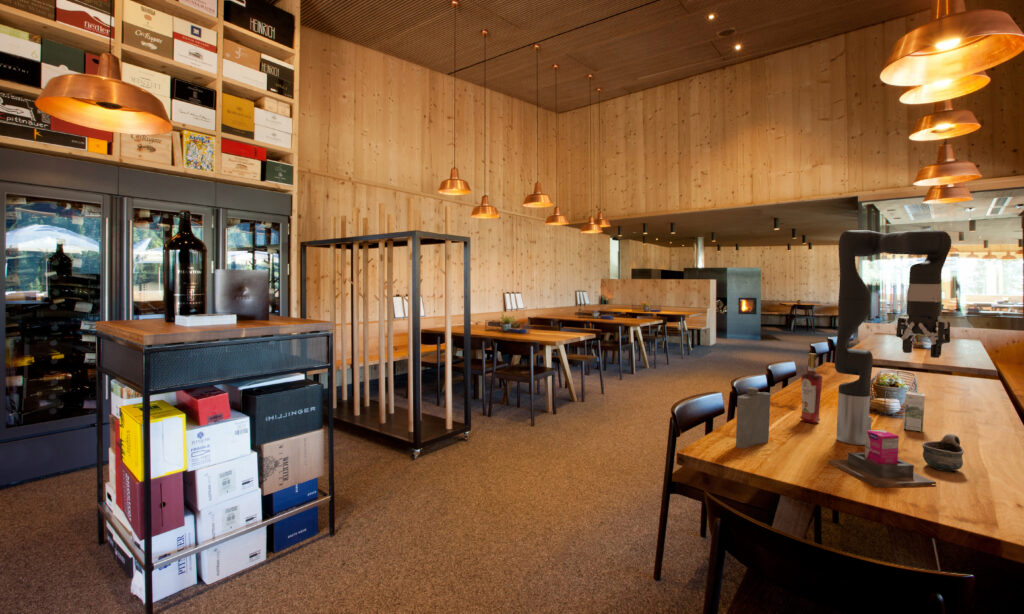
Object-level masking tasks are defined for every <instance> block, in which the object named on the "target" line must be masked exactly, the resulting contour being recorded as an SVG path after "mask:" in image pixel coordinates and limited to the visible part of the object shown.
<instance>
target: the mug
mask: <svg viewBox="0 0 1024 614" xmlns="http://www.w3.org/2000/svg"><path fill="white" fill-rule="evenodd" d="M922 449H923V451H922V458H923V460H924V462H925V463H926V464H927V465H929V466H931V467H932V468H934V469H936V468H937V470H939V469H940V471H947V470H948V472H949V471H951V472H953V471H958V470H960V469H962V467H963V466H964V461H963V460H964V459H963V455H964V452H965V451H964V449H963V447H962V446H961V441H960V438H959V437H958V435H957V434H953V433H946V434H945V435H944V436H943V437H942V439H940V440H939V441H938V440H933V441H931V440H930V441H925V442H922Z"/></svg>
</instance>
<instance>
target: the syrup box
mask: <svg viewBox="0 0 1024 614" xmlns="http://www.w3.org/2000/svg"><path fill="white" fill-rule="evenodd" d="M904 399H905V401H904V414H903V415H904V419H903V430H904V429H907V430H906V431H910V430H914V431H913V432H916V431H920V432H919V433H923V432H924V417H925V415H924V413H925V403H926V402H925V399H926V395H925V392H917V391H908V390H906V391H905V398H904Z"/></svg>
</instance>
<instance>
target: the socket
mask: <svg viewBox="0 0 1024 614" xmlns="http://www.w3.org/2000/svg"><path fill="white" fill-rule="evenodd" d="M828 464H829V465H832V466H834V467H835V468H838V469H840V470H842V471H843V472H845V473H848V474H850V475H852V476H853V477H855V478H857V479H859V480H861V481H862V482H865V483H866V484H869V485H871V486H873V487H875V488H894V487H893V486H904V487H918V486H917V485H932V484H936V485H937V482H936V481H935V480H933V479H930V478H928V477H925V476H923V475H921V474H919V473H916V472H914V470H915V467H914V464H911V463H909V462H907V461H906V460H902V459H899V458H898V464H877V463H875V462H873V461H870V460H868V459H866V458H865V451H864V452H863V451H862V452H848V453H847V459H828ZM890 486H891V487H890ZM932 486H933V485H932Z"/></svg>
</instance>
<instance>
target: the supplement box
mask: <svg viewBox="0 0 1024 614" xmlns="http://www.w3.org/2000/svg"><path fill="white" fill-rule="evenodd" d="M899 439H900V438H899V435H897V434H894V433H892V432H890V431H887V430H884V429H876V430H875V429H874V430H873V429H871V430H868V431H866V442H865V445H864V452H865V458H866V459H868V460H870V461H873V462H875V463H877V464H898V459H899V441H900V440H899Z"/></svg>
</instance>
